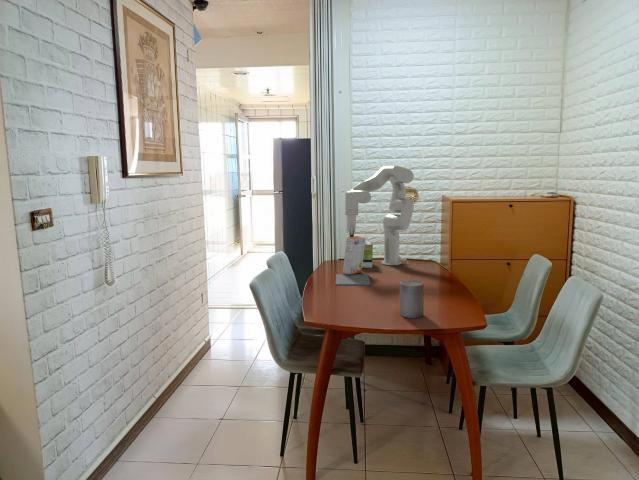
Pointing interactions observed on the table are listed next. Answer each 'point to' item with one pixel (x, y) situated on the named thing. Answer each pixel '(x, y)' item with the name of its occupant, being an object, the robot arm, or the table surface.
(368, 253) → the tea box
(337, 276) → the mat
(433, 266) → the table surface
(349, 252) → the cracker box
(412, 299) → the pillar candle
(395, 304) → the table surface
